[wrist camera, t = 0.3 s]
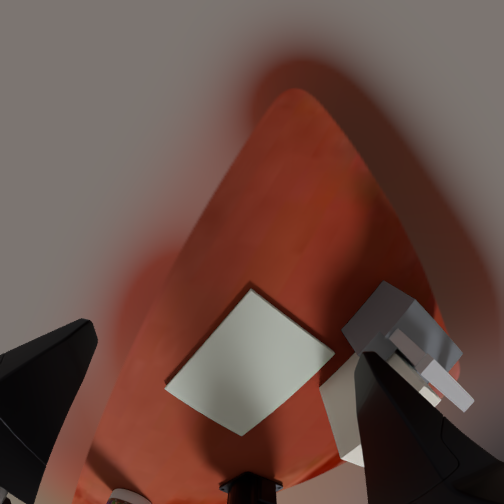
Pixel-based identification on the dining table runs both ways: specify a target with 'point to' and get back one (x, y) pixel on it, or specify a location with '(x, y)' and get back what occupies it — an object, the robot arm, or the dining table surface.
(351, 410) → the white rectangular block
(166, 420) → the dining table surface
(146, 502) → the milk bottle
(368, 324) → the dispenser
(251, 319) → the mat
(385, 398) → the robot arm
